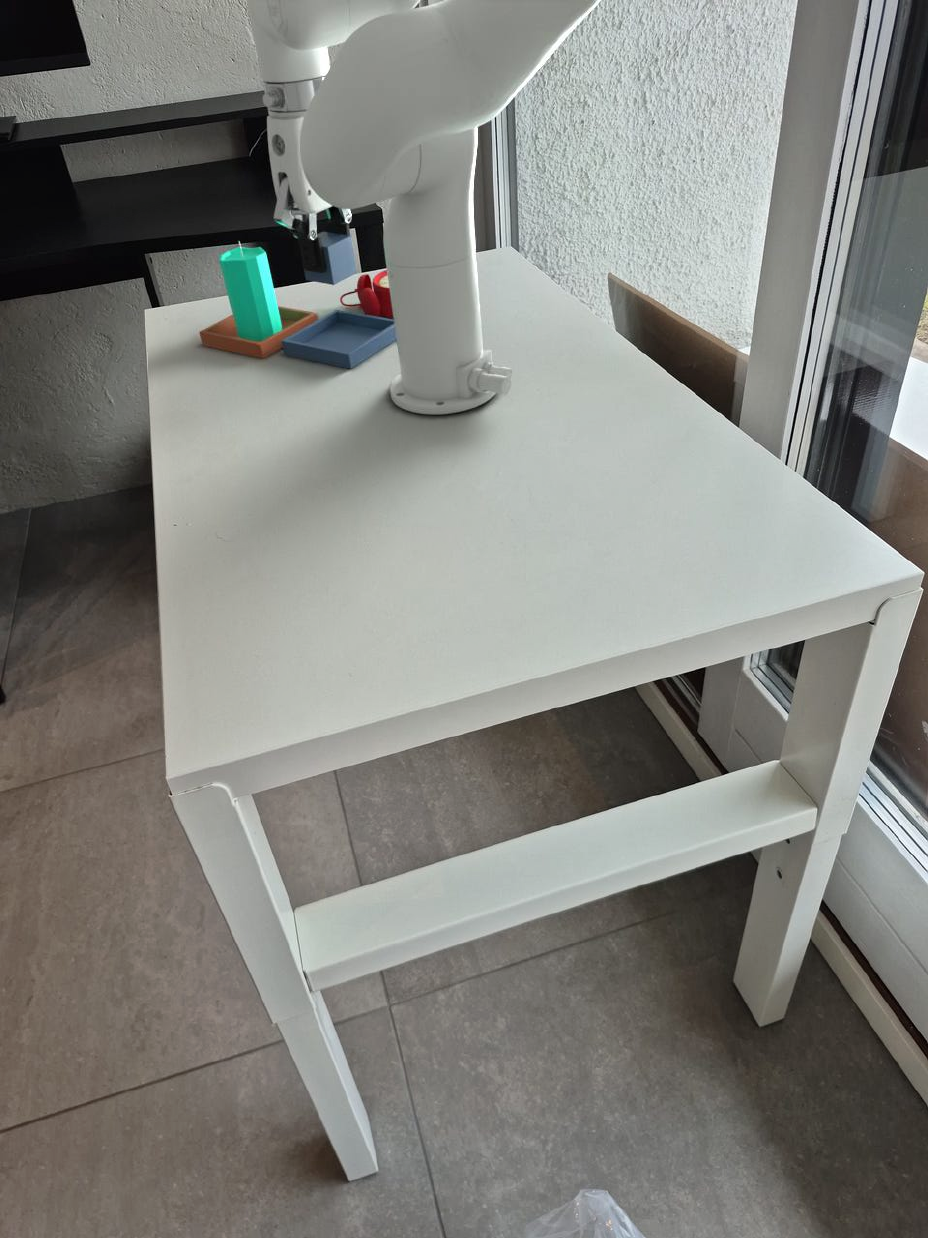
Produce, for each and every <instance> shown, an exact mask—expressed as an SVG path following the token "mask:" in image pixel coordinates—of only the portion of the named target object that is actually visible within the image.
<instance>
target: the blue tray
mask: <svg viewBox="0 0 928 1238" xmlns="http://www.w3.org/2000/svg"><path fill="white" fill-rule="evenodd" d="M396 341H397V339H396V332H395V325H394V318H389V317H383V316H380V317H377V316H371V315H365V314H364V313H359V312H352V311H348V310H343V309H342V310H341V309H335V310H333V311H331V312H328V313H327V314H326V315H324V316H322V317H320V318H319V319H318V320H317V321H315V322H313V323H312V324H310V325H308V326H306V327H305V328H303V329H301V330H299V331H298V332H296V333H294V334H292V335H290V336H289V337H287V338H285V339H283V340H282V341H281V343H282V351H283V355H284V356H288V357H293V358H296V359H297V358H298V359H302V360H307V361H312V362H317V363H321V364H326V365H331V366H336V367H340V368H344V369H350V370H351V369H353V368H356V367H357V366H359V364H361V363H363V362H365V361H366V360H367V359H369V358H370V357H372V356H374V355H376V353H378V352H379V351H382V350H383V349H384V348H386V347H388V346H389V345H391V344H393V343H394V342H396Z"/></svg>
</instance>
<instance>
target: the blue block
mask: <svg viewBox="0 0 928 1238" xmlns="http://www.w3.org/2000/svg"><path fill="white" fill-rule="evenodd" d="M317 237H319V238H321V240H322V245H323V246H322V247H323V253H324V259H325V264H326V271H325V272H323V273H318V272H312V271H306V270H305V269H304V268H303V270H304V276H305V280H306V281H309V282H315V283H319V284H326V285H331V286H335V285H337V284H338V283H340V282H342V281H345V280H346V279H348V278H350V277H352V276H354V275H355V274H357V273H358V271H357V265H356V259H355V252H354V245H353V239H352V235H351V234H350V235H342V234H336V233H329V232H327V231H322V232H319V233H317Z"/></svg>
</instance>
